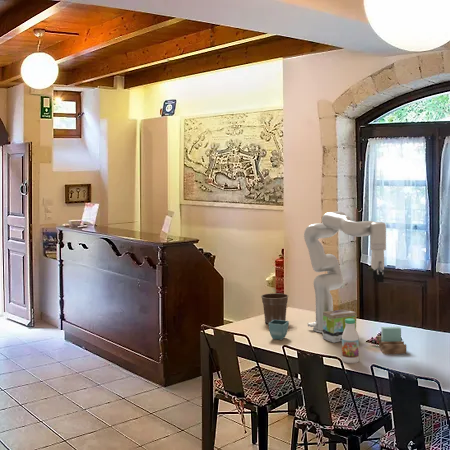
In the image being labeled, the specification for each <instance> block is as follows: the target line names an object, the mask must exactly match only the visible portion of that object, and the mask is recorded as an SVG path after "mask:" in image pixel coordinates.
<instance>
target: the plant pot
mask: <svg viewBox="0 0 450 450" xmlns="http://www.w3.org/2000/svg"><path fill="white" fill-rule="evenodd" d="M260 298H261V300H262V304H263V313H264V322H265V324H268V323H270V322H271V321H273V320H282V321H287V320H286V318H287V317H286V316H287V305H288V298H289V295H288V294H285V293H273V292H272V293H271V292H270V293H265V294H262V295H261V296H260Z"/></svg>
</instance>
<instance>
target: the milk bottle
mask: <svg viewBox="0 0 450 450" xmlns="http://www.w3.org/2000/svg"><path fill="white" fill-rule="evenodd" d="M345 324H346V326H345V329H344V332H343V335H342V341H341V361H342V362H343V363H346V364H357V363H358V362H359V361H360V360H359V359H360V355H359V353H360V349H359V348H360V347H359V342H360V341H359V339H360V338H359V334H358V332H357V328H356V329H355V319H351V318H348V319H345Z"/></svg>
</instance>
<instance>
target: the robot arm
mask: <svg viewBox="0 0 450 450" xmlns="http://www.w3.org/2000/svg"><path fill="white" fill-rule="evenodd" d="M340 231H341V232H342V233H344V234H345V235H348V236H352V237H355V238H357V237H368V236H370V241H369V242H370V251H371V260H370V261H371V262H370V267H371V269H373V270H372V279H373V280H376V283H384V281H385V279H384V275H385V274H384V270H385V251H386V250H387V225H386V223H385V222H382V221H381V222H380V221H373V220H364V221H353V220H352V218H351V216H349V215H347V214H346V213H345V212H342V211H329V212H326V213H324V214H323V215H322V218H321V222H318V223H313V224H310V225H308V226H306V228H305V230H304V232H303V239H304V242H305V245H306V248H307V250H308V255H309V259H310V263H311V266H312V269H313V271H314V272H316V273H322V274H318V275H317V276H315V278H314V279H313V288H314V294H315V320H314V322H307V327H309V328H312V329H313V332H317V333H322V334H323V312H327V311H334V305H333V304H334V303H333V301H334V298H333V295H332V294H331V291H334V290H338V289H340V288H341V287H342V286H343V282H344V281H343V280H344V279H343V275H342V270H341V266H340V262H339V260H338V258H337V257H336V255H334V254H332V253H325V249H324V246H323V244H322V243H321V241H320V240H319V239H328V238H332V237H333V236H335V235H336V234H337V233H338V232H340ZM324 272H327V273H324Z"/></svg>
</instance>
